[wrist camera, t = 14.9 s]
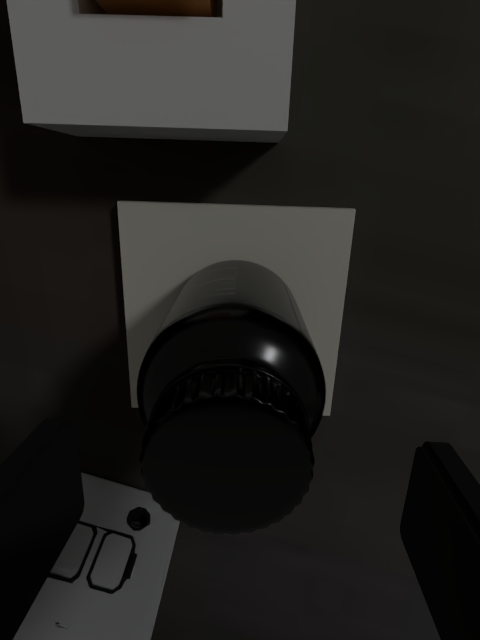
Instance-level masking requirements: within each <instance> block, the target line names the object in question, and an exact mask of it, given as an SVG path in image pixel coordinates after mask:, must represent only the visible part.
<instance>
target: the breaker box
mask: <svg viewBox="0 0 480 640" xmlns="http://www.w3.org/2000/svg"><path fill="white" fill-rule="evenodd" d="M6 1H7V8H8V15H9V22H10V29H11V37H12V44H13V51H14V58H15V65H16V73H17V80H18V87H19V94H20V102H21V109H22V116H23V123H26V124H30V125H34V126H38V127H42V128H46V129H50V130H54V131H58V132H62V133H66V134H70V135H74V136H82V137H113V138H145V139H176V140H208V141H239V142H270V143H279V142H280V140H281V139H282V138H283V136H284V135H285V134H286V132H287V130H288V115H289V100H290V84H291V69H292V53H293V38H294V23H295V7H296V0H217V17H184V16H148V15H112V14H107V13H106V12H105V11H104V10H103V9H102V7H101V6H100V5H99V4H98V3H97V2H96V0H6Z"/></svg>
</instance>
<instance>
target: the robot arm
mask: <svg viewBox="0 0 480 640" xmlns="http://www.w3.org/2000/svg"><path fill="white" fill-rule="evenodd" d="M84 504H85V502H84V492H83V484H82V476H81V467H80V459H79V450H78V442H77V433H76V427H75V426H74V425H70V422H69V420H67V419H54V418H46V419H45V420H43V421H42V422H41V423H40V424H39V425H38V426H37V428H36V429H35V430H34V431H33V432H32V433H31V434H30V435H29V436H28V437H27V438H26V439H25V440H24V441H23V442H22V443H21V444H20V445H19V446H18V448H17V449H16V450H15V451H14V452H13V453H12V454H11V455H10V456H9V457H8V458H7V459H6V460H5V461H4V462H3V463H2V464H1V465H0V640H13V638H14V636H15V635H16V633H17V631H18V629H19V627H20V626H21V624H22V622H23V620H24V619H25V617H26V615H27V613H28V611H29V610H30V608H31V606H32V604H33V602H34V601H35V599H36V597H37V595H38V593H39V592H40V590H41V588H42V586H43V584H44V583H45V581H46V579H47V577H48V575H49V574H50V572H51V570H52V568H53V566H54V565H55V563H56V561H57V559H58V557H59V556H60V554H61V552H62V550H63V548H64V547H65V545H66V543H67V541H68V539H69V538H70V536H71V534H72V532H73V530H74V529H75V527H76V525H77V523H78V521H79V520H80V518H81V516H82V514H83V510H84ZM400 533H401V538H402V541H403V544H404V546H405V549H406V551H407V554H408V556H409V559H410V562H411V564H412V567H413V569H414V572H415V574H416V577H417V580H418V582H419V585H420V587H421V590H422V592H423V595H424V597H425V600H426V603H427V605H428V608H429V610H430V613H431V615H432V618H433V621H434V623H435V626H436V628H437V631H438V633H439V636H440V639H441V640H480V485H479V483H478V482H477V481H476V479H475V478H474V476H473V475H472V474H471V472H470V471H469V470H468V468H467V467H466V465H465V464H464V463H463V461H462V460H461V458H460V457H459V456H458V454H457V453H456V452H455V450H454V449H453V447H452V446H451V445H450V444H449V443H442V442H424V444H423V446H422V447H417V449H416V451H415V456H414V461H413V466H412V471H411V475H410V480H409V485H408V490H407V495H406V499H405V504H404V509H403V514H402V519H401V524H400Z"/></svg>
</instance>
